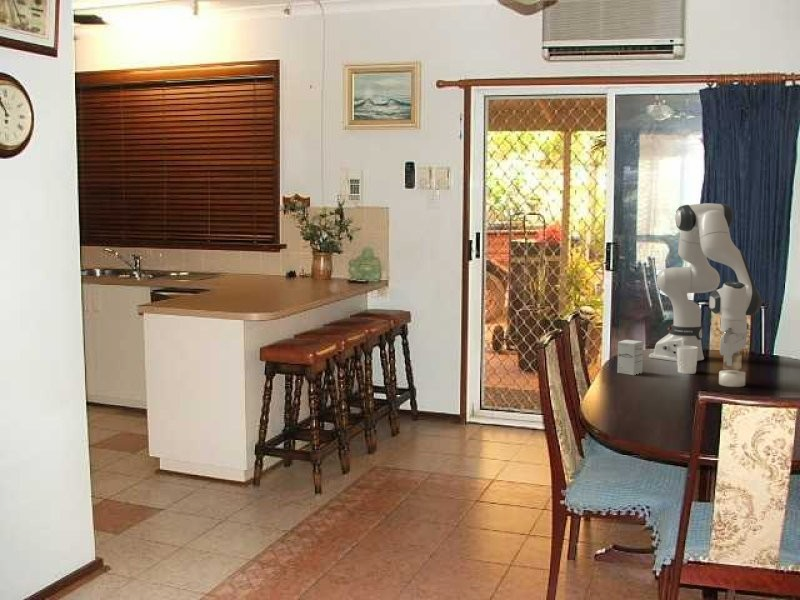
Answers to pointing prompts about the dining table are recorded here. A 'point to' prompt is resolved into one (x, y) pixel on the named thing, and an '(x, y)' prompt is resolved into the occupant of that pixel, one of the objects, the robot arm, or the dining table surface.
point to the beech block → (736, 362)
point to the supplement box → (630, 357)
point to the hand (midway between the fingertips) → (732, 364)
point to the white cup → (687, 359)
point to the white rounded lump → (732, 378)
